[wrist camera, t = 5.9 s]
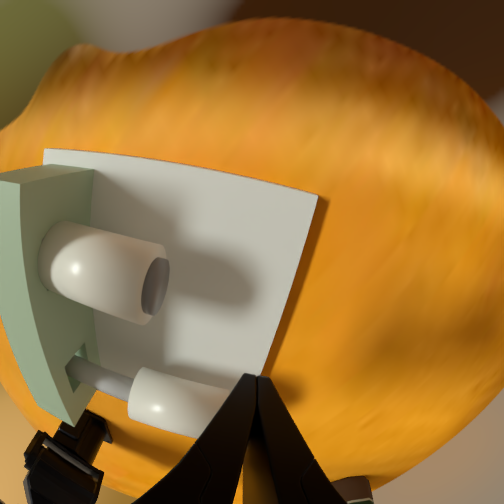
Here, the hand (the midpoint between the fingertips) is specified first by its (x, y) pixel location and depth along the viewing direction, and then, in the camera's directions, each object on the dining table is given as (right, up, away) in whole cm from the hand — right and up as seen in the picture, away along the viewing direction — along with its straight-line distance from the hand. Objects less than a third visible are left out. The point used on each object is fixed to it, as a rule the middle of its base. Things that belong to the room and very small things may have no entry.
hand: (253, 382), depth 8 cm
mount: (-9, +1, +10) cm, 13 cm away
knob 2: (-8, -5, +9) cm, 13 cm away
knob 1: (-10, +5, +6) cm, 13 cm away
